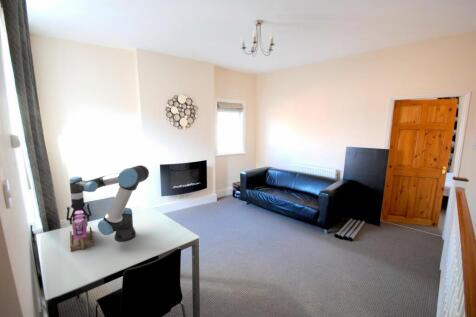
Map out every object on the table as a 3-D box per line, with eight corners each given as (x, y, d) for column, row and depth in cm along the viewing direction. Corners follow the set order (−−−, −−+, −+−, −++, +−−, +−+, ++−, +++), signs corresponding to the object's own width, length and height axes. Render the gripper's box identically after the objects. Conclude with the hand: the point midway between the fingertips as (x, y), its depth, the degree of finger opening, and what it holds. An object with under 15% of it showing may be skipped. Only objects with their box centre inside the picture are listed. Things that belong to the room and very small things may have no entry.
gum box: (86, 237, 165) (85, 220, 163) (73, 240, 161) (71, 222, 158) (86, 224, 185) (85, 208, 182) (74, 226, 180) (73, 210, 178)
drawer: (91, 231, 189) (90, 222, 187) (94, 246, 166) (93, 236, 165) (70, 236, 180) (69, 226, 179) (70, 253, 158) (69, 242, 156)
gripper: (93, 193, 178) (95, 221, 181) (59, 198, 165) (62, 228, 169) (94, 196, 172) (96, 225, 175) (59, 201, 159) (62, 232, 163)
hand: (80, 226), depth 172 cm, fingers closed on gum box, 8 cm apart
